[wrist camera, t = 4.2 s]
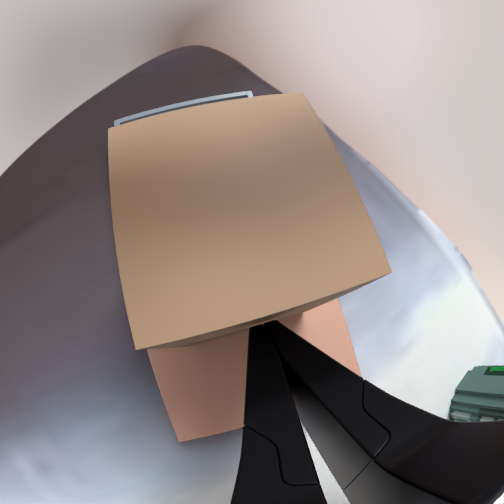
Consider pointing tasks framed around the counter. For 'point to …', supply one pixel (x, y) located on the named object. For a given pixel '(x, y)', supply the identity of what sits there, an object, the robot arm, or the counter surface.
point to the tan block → (233, 219)
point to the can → (479, 396)
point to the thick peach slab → (234, 372)
